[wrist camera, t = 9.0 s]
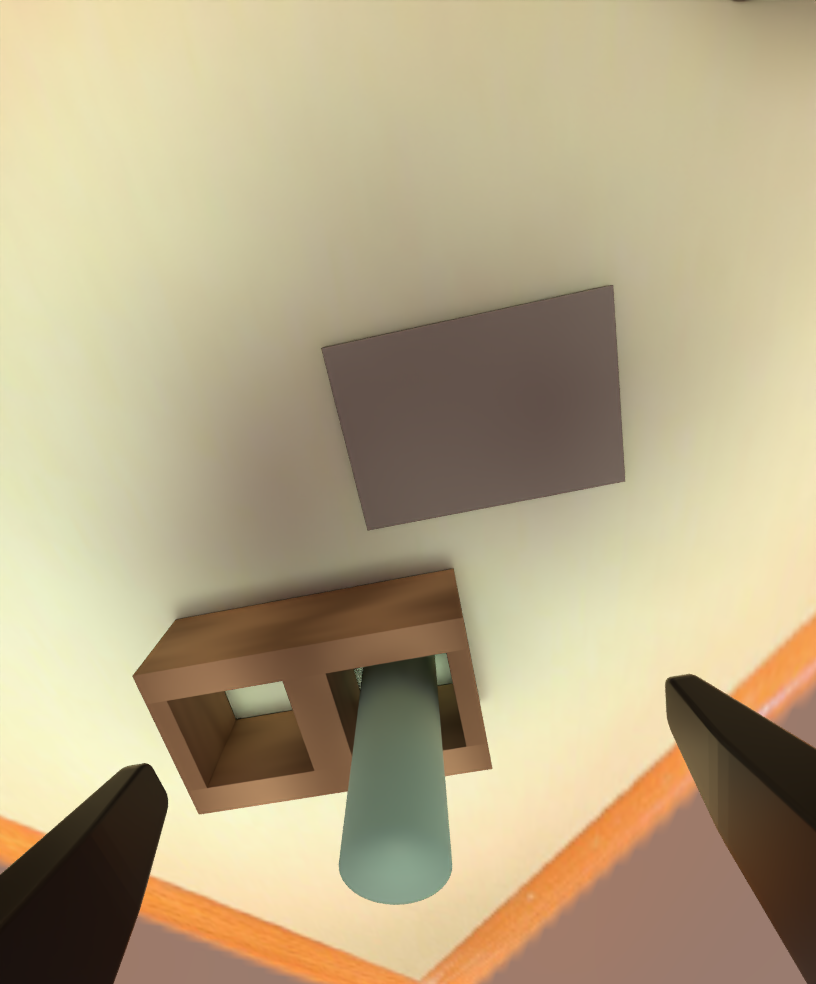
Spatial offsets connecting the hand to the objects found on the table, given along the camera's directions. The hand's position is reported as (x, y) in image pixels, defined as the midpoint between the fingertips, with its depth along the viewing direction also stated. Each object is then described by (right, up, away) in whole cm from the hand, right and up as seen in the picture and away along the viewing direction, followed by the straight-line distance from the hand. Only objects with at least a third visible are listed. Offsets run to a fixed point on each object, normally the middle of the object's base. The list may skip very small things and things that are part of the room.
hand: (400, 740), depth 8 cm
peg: (0, -3, +13) cm, 13 cm away
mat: (+3, +7, +10) cm, 12 cm away
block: (-3, -3, +13) cm, 14 cm away
